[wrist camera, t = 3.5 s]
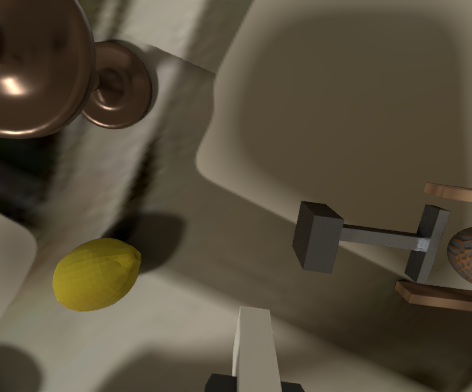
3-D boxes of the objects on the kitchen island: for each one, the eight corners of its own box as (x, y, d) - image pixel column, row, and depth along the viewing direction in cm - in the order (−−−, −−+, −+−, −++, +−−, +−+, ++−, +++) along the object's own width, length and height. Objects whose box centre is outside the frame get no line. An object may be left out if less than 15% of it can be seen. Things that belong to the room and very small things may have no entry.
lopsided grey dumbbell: (290, 257, 34) (300, 283, 28) (303, 188, 32) (317, 200, 26) (413, 273, 34) (449, 302, 28) (435, 205, 32) (478, 221, 26)
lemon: (91, 293, 36) (49, 337, 28) (66, 242, 34) (14, 273, 26) (165, 272, 35) (143, 312, 27) (143, 219, 33) (113, 245, 26)
